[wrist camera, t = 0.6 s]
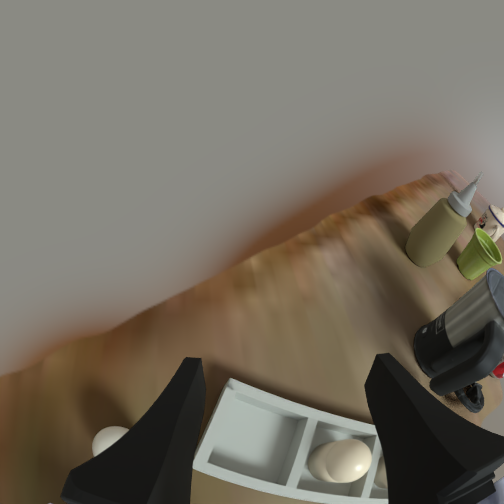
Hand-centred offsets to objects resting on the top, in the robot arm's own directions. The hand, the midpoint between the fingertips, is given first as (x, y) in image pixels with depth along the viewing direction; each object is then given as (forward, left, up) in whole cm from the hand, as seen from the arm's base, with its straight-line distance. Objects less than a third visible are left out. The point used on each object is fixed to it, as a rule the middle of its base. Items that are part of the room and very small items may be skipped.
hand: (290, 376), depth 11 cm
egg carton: (-1, -11, -17) cm, 20 cm away
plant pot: (+42, -39, -17) cm, 60 cm away
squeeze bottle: (+37, -23, -17) cm, 47 cm away
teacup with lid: (+64, -55, -17) cm, 86 cm away
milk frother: (+15, -29, -17) cm, 37 cm away
